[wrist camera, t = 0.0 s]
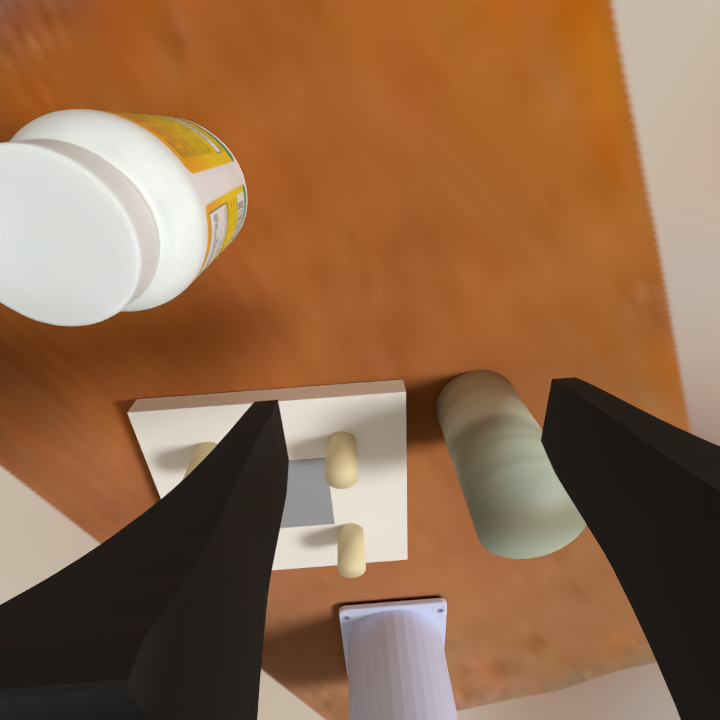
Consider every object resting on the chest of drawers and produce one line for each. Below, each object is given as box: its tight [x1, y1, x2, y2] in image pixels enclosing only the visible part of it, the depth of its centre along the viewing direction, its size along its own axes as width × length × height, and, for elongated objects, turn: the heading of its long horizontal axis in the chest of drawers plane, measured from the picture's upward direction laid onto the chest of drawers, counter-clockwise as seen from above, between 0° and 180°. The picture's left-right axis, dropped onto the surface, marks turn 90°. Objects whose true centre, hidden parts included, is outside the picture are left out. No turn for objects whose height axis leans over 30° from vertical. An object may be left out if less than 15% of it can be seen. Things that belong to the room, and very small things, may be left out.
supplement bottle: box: [0, 109, 248, 326], centre depth 14 cm, size 5×5×10 cm
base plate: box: [127, 379, 407, 578], centre depth 24 cm, size 13×14×4 cm
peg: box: [436, 370, 586, 559], centre depth 20 cm, size 4×4×8 cm
